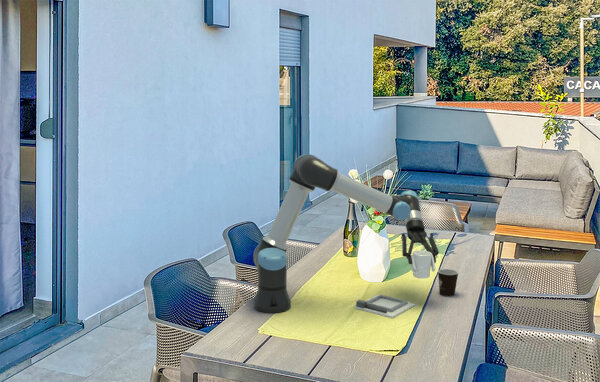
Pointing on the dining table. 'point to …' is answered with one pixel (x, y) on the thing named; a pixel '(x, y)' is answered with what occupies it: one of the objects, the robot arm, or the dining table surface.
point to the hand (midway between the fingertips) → (424, 270)
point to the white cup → (422, 264)
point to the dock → (384, 305)
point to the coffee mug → (447, 281)
